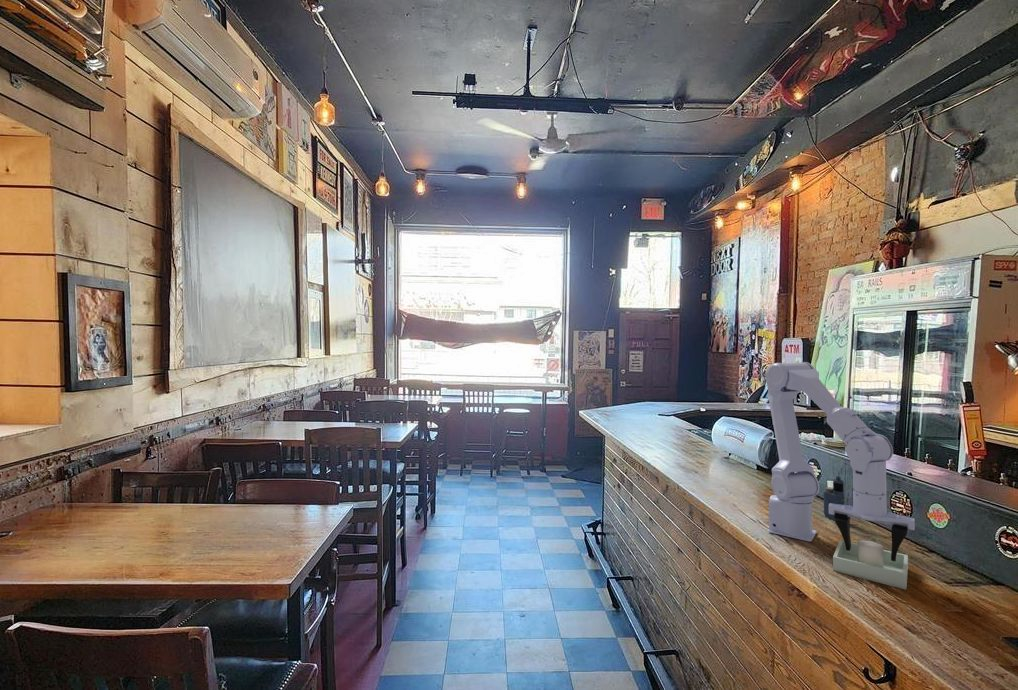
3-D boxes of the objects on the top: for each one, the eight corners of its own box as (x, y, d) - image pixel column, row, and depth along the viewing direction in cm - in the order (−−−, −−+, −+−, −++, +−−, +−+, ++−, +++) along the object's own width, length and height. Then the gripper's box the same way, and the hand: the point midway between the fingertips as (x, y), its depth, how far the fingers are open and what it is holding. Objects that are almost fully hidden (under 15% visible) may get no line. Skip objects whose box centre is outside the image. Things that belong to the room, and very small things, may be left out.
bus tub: (833, 570, 99) (832, 556, 99) (840, 552, 107) (839, 540, 107) (906, 589, 91) (906, 574, 91) (908, 569, 99) (907, 555, 99)
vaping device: (839, 522, 125) (838, 478, 125) (821, 515, 130) (821, 473, 130) (846, 521, 126) (846, 477, 126) (828, 514, 131) (828, 472, 131)
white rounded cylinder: (856, 568, 99) (856, 545, 99) (859, 561, 102) (858, 538, 102) (882, 575, 96) (882, 551, 96) (884, 567, 100) (884, 544, 99)
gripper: (826, 489, 101) (827, 550, 101) (913, 503, 91) (914, 571, 92) (830, 481, 106) (831, 540, 106) (914, 494, 97) (915, 559, 97)
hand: (870, 554), depth 99 cm, fingers open, 7 cm apart
